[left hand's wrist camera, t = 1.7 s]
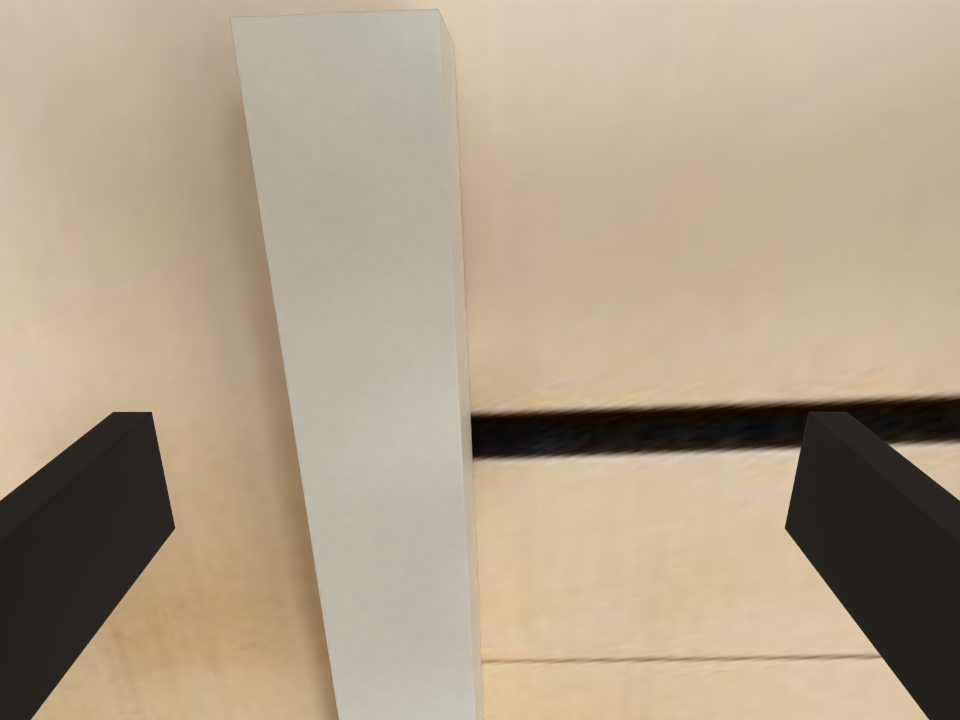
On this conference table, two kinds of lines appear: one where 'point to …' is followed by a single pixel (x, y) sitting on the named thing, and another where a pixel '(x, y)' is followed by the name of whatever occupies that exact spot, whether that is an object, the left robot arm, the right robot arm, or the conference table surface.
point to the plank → (373, 341)
